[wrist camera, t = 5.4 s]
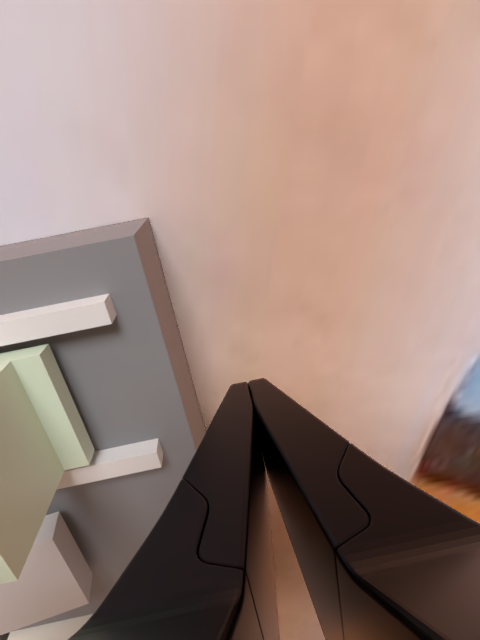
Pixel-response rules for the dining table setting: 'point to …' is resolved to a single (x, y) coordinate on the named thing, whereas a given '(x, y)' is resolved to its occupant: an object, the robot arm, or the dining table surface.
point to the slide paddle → (33, 448)
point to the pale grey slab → (46, 579)
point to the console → (107, 382)
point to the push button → (51, 630)
